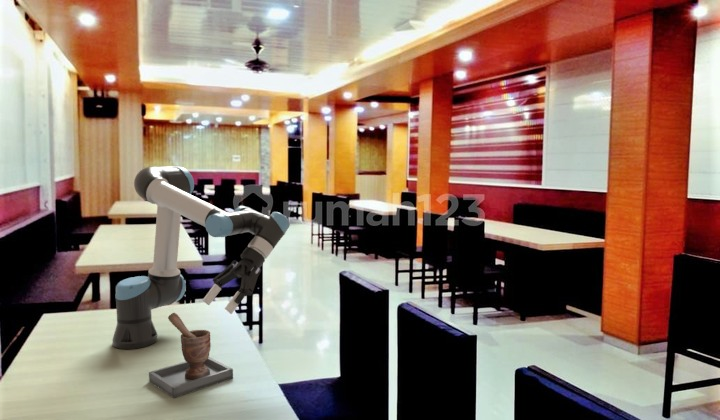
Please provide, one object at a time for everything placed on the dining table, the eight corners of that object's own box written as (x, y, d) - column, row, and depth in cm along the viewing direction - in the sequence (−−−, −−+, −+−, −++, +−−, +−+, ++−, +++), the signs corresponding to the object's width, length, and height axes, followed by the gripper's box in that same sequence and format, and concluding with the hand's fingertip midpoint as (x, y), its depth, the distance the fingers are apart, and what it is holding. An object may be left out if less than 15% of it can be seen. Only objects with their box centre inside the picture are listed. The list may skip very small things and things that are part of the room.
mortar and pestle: (175, 386, 154) (173, 319, 152) (168, 376, 161) (166, 311, 160) (215, 377, 160) (213, 312, 159) (206, 367, 168) (204, 306, 166)
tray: (149, 381, 160) (148, 372, 159) (206, 364, 173) (206, 355, 173) (173, 398, 149) (173, 387, 148) (233, 378, 162) (232, 368, 162)
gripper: (285, 265, 167) (246, 322, 158) (242, 255, 185) (204, 305, 176) (271, 250, 163) (230, 308, 154) (228, 241, 181) (189, 293, 172)
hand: (216, 307), depth 165 cm, fingers open, 13 cm apart
